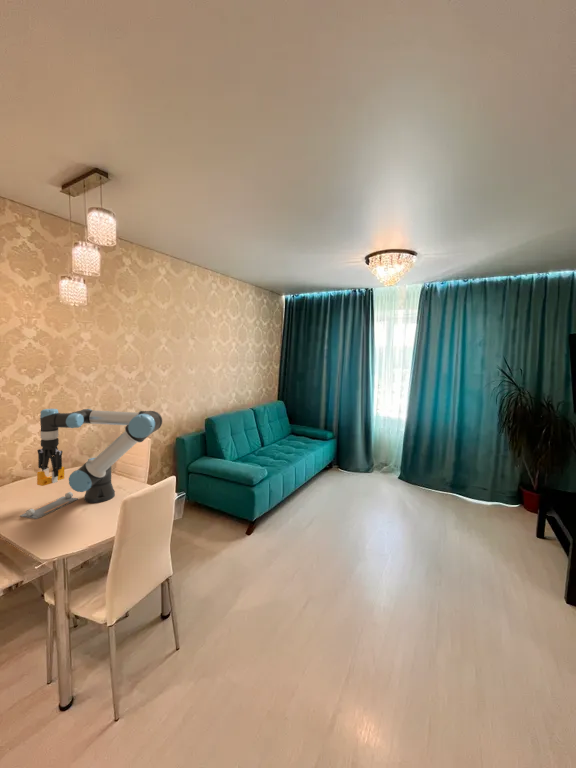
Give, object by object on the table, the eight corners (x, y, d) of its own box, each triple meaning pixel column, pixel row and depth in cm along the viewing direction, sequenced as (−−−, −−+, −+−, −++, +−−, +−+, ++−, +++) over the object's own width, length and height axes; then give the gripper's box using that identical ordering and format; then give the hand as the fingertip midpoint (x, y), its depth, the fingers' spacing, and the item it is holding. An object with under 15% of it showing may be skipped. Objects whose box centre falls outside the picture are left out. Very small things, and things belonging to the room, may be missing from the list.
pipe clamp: (42, 486, 164) (42, 473, 164) (37, 484, 166) (37, 472, 165) (66, 479, 175) (66, 467, 175) (61, 477, 177) (61, 466, 176)
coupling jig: (77, 499, 181) (77, 492, 181) (36, 519, 158) (36, 511, 157) (63, 497, 183) (63, 490, 183) (20, 516, 160) (20, 509, 159)
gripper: (70, 438, 170) (70, 481, 171) (42, 435, 174) (43, 477, 175) (57, 441, 163) (58, 486, 164) (28, 438, 166) (29, 482, 168)
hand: (50, 481), depth 170 cm, fingers closed on pipe clamp, 5 cm apart
